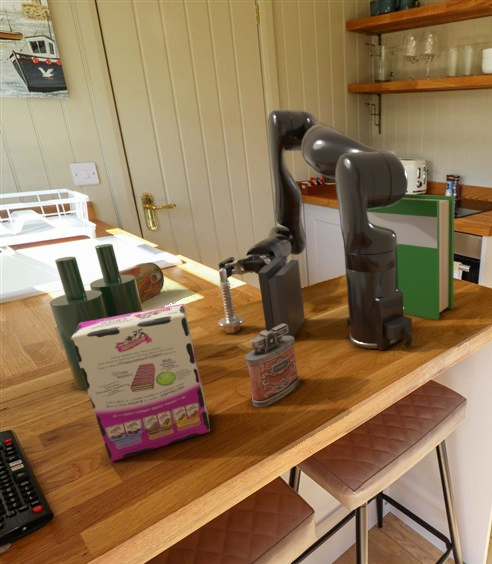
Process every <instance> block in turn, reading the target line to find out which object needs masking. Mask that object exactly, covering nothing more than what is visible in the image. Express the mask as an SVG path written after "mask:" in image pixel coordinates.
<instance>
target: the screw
mask: <svg viewBox="0 0 492 564" xmlns="http://www.w3.org/2000/svg"><path fill="white" fill-rule="evenodd" d="M218 275H219V276H218V277H219V282H220V283H219V285H220V286H219V288H220V294H221V297H222V298H221V300H222V305H223V308H224V309H223V311H224V316H225V317H222V318H221V319H219V320H218V321H217V327H220V328H223V329H224V331H225V332H226V334H234V333H237V332H239V331H240V330H241V328H240V325H242V324H243V323H244V322H245V318H244V317H243V316H241V315H238V314H237V315H236V314H235V309H234V308H235V307H234V303H233V302H234V301H233V295H232V289H231V286H230V285H231V283H230V280H228V279H229V278H227V273H226V270H225V269H223V268H221V269H220V270H219V269H218Z"/></svg>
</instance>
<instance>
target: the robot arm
mask: <svg viewBox="0 0 492 564" xmlns="http://www.w3.org/2000/svg"><path fill="white" fill-rule="evenodd" d="M267 140H268V148H269V149H268V150H269V158H270V166H271V174H272V180H273V189H274V216H273V217H274V220H275V222H276V223H277V224H278V226H276V225H275V226H273V227H272V228H271V229H270V230H269V232H268V234H267V235H268V236H267V238H265V239H262V240H261V241H259V242H257V243H256V244H254V245H252V246H251V247H250V248H249V249H248V250H247V252H246V254H245V256H244V257H239V258H236V259H235V257H233V256H230V257H228V258H226V259H225V260H223V261H221V262H219V263H218V271H219V270H220V269H221V268H223V269H225V270H226V273H227V279H229V278H230V277H231V276H234V275H238V276H242V275H245V274H253V273H254V274H257V275H258V272H259V271H261V270H262V269H263V268H264V267H265V266H267V265H268V264H269V263H270V262H271V261H272V260H274V259H275V258H283V262H284V265H286V264H287V263H288V262H289V261H288V260H289V259H288V257H289V256H290V255H294V256H299V255H300V254H303V252H304V251H305V249H306V247H307V236H306V231H305V228H304V226H303V221H302V206H303V195H302V191H301V189H300V186H299V185H298V183H297V182H296V180H295V179H294V177H293V175H292V174H291V172H290V170H289V169H288V167H287V163H286V160H285V152H301V155H302V158H303V160H304V161H305V163H306V164H307V165H308V166H309V167H310V168H311V169H313V170H314V171H316V173H318V174H320V175H322V176H324V177H325V178H329V179H333V180H334V181H335V190H336V198H337V207H338V214H339V223H340V225H339V226H340V230H341V236H342V241H343V251H344V264H345V265H344V266H345V280H346V282H345V283H346V294H347V295H346V296H347V306H348V307H347V309H348V318H347V319H346V327H347V329H348V328H349V340H350V342H351V344H353V346H356V347H358V348H362V349H370V350H379V351H384V350H386V349H388V348H390V347H391V346H394V345H395V344H397V343H399V342H400V341H402V340H404V339H405V337H406V341H405V343H404V346H405V347H406V348H410V346H411V345H412V343H413V335H412V334H411V333H412V332H413V318H412V317H409V316H406V315H405V313H404V311H403V309H404V307H403V291H402V290H399V289H398V257H397V235H396V233H395V232H394V231H393V230H391V229H389V228H385V227H381V226H377V225H374V224H372V223H371V222H370V221H369V220H368V216H367V209H376V208H384V207H389V206H392V205H395V204H397V203H398V202H400V201H401V200H402V199H403V197H404V196H405V194H407V191H408V185H409V181H408V174H407V171H406V168H405V165H404V164H403V163H402V161H401V159H399V157H398V156H397V155H395V154H394V153H392V152H391V151H387V150H384V149H379V148H376V147H372V146H369V145H366V144H364V143H362V142H360V141H359V140H357V139H355V138H353V137H352V136H350V135H347V134H345V133H344V132H342V131H340V130H338V129H337V128H334V127H332V126H329V125H328V124H325V123H323V122H322V121H320V120H319V119H318V118H317V117H316V116H315V115H314V114H312V113H311V112H309V111H306V110H302V109H301V110H300V109H299V110H298V109H272V110H271V111H270V113H269V114H268V118H267ZM242 269H243V270H242Z"/></svg>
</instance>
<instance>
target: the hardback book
mask: <svg viewBox="0 0 492 564" xmlns="http://www.w3.org/2000/svg"><path fill="white" fill-rule="evenodd" d="M367 216H368V220H369V221H370V222H371V223H372V224H374V225H377V226H381V227H385V228H389V229H391V230H393V231H394V232H395V233H396V235H397V257H398V289H399V290H402V291H403V307H404V309H403V311H404V314H407V315H412V316H417V317H420V318H426V319H431V320H434V321H439V320H440V313H442V312H443V311H444V310H445V309H446V310H453V309H454V268H455V267H454V265H455V263H454V262H455V261H454V260H455V258H454V257H455V196H453V195H434V194H433V195H432V194H414V193H413V194H412V193H406V194H405V196H404V197H403V199H402V200H401V201H400V202H398V203H397V204H395V205H392V206H389V207H384V208H376V209H367Z"/></svg>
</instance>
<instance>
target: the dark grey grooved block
mask: <svg viewBox="0 0 492 564" xmlns="http://www.w3.org/2000/svg"><path fill="white" fill-rule="evenodd" d="M257 275H258V283H259V290H260V296H261V303H262V310H263V318H264V324H265V330H266V331H270V330H272V328H274V327H277V326H279V325H281V324H286V325H288V331H289V332H288V333H286V334H284V335H282V336H292V337H294V338H295V336H296V335H297V334H298V332H299V330H300V328H301V327H302V325H303V323H304V322H305V320H306V318H305V309H304V301H303V292H302V282H301V272H300V263H299V259H290V260H289V261H288V263H287V264H286V265H284V262H283V258H275V259H274V260H272V261H271V262H270V263H269V264H268V265H267V266H265V267H264V268H263V269H262V270H261V271H259V272H258V274H257Z"/></svg>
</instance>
